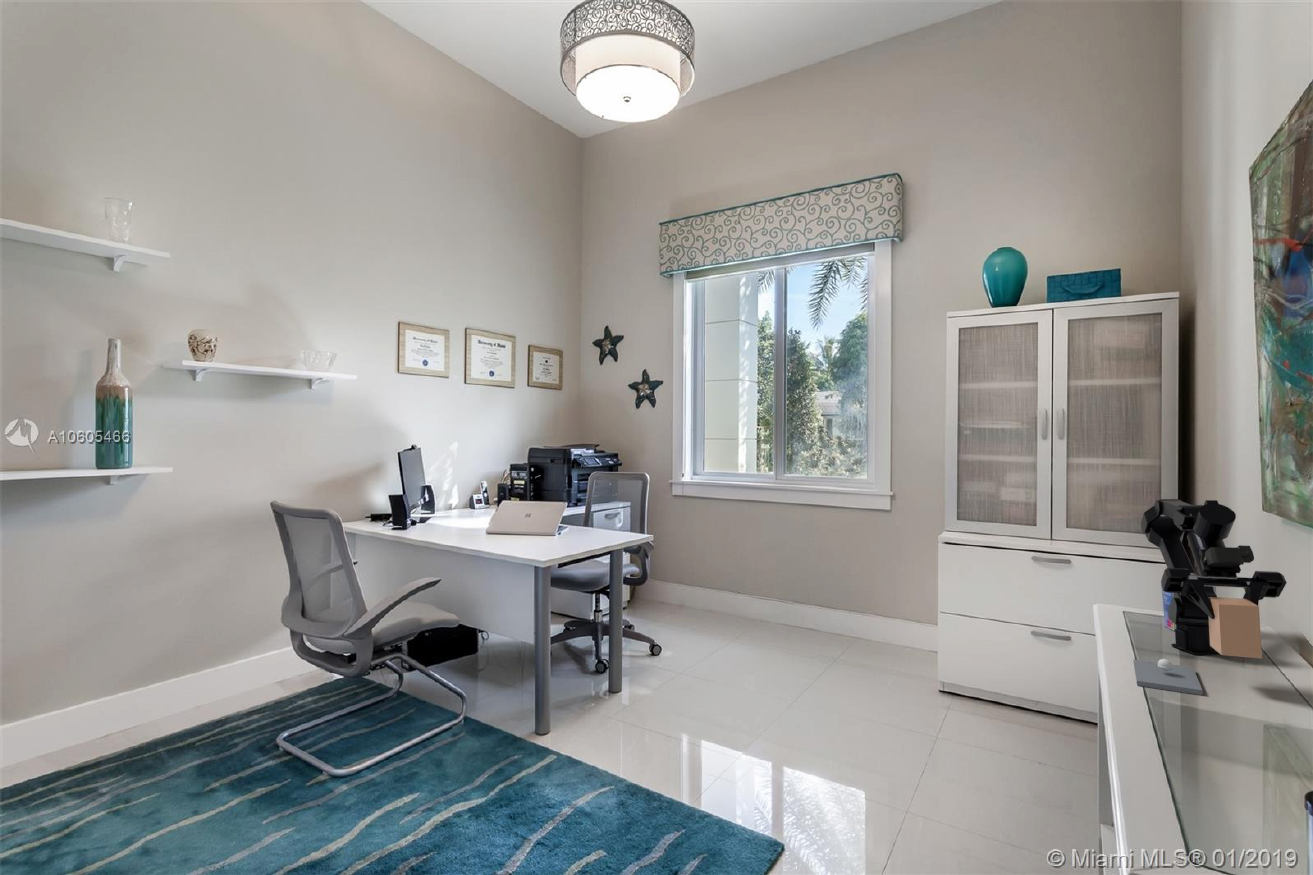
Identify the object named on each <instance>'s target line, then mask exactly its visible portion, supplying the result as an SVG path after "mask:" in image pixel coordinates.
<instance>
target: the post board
mask: <svg viewBox="0 0 1313 875" xmlns="http://www.w3.org/2000/svg"><path fill="white" fill-rule="evenodd" d="M1133 667H1134V668H1133V669H1134V674H1135V681H1136V686H1137V685H1139V686H1138V687H1144V688H1151V689H1158V690H1165V691H1171V692H1177V693H1185V694H1191V695H1197V696H1203V688H1202V686H1201V684H1200V681H1199V679H1198V677H1197V674H1196V671H1195V668H1194V667H1193V666H1188V665H1179V664H1173V663H1172V662H1171V660H1168V658H1167V659H1166V658H1160V659H1159V660H1158V661H1151V660H1142V659H1136V658H1135V659H1134V658H1133Z"/></svg>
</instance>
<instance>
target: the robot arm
mask: <svg viewBox="0 0 1313 875" xmlns="http://www.w3.org/2000/svg"><path fill="white" fill-rule="evenodd" d="M1236 518H1237V515H1236V512H1235V511H1234V510H1233V509H1232V508H1230V507H1228V506H1226V505H1224V504H1219V501H1218V499H1217V500H1215V499H1214V500H1213V499H1208V500H1207V499H1206V500H1204V503H1203V504H1190V503H1187V502H1185V501H1183V500H1182V499H1178V498H1159V499H1155V502H1154V503H1153V506H1152V507H1150V508H1149V509H1147V510H1145V511H1143V514H1142V518H1141V522H1140V526H1141V527H1140V530H1141V531H1142V533H1143V534H1144V535H1145V537H1146V539H1147V541H1148V542H1149V543H1151V544H1153V545H1154V546H1156V547H1157V548H1159V551H1160V552H1161V556H1162V558H1163V560H1164V563H1165V565H1166V568H1165V569H1164V570H1163V574H1162V575H1161V576H1162V577H1161V580H1160V585H1162V586H1161V589H1162V588H1163V591H1165V592H1170V593H1174V595H1173V598H1172V600H1171V603H1170V605H1169V608H1168V616H1169V620H1171V621H1172V622H1173V623H1174V624H1176V629H1175V631H1174V633H1175V634H1174V635H1175V636H1174V637H1175V643H1170V644H1171V647H1174V648H1175V649H1178V650H1182V651H1184V652H1187V653H1189V654H1192V655H1196V656H1197V655H1198V656H1199V655H1214V654H1220V653H1219V652H1217V651H1216V650H1215V649H1214V648H1213V647H1211V646H1210V635H1209V617H1210V618H1211V619H1214V618H1215V614H1214V611H1213V608H1212V605H1211V603H1210V601H1209V599H1208V597H1218V596H1217V593H1216V594H1215V592H1214V590H1213V587H1212V586H1215V587H1216V588H1217V587H1220V588H1237V589H1238V588H1242V589H1243V590H1244V595H1243V597H1242V599H1247V600H1249V601H1250V602H1252V603H1254V604H1256V605H1257V606H1259V603H1260V602H1259V601H1262V600H1263V599H1264V598H1271V599H1272V598H1273V599H1276V598H1278V597H1280V596H1281V594H1282V592H1283V591H1284V589H1285V587H1286V585H1287V581H1286V580H1287V579H1285V576H1284V575H1283V574H1282V573H1280V572H1279V571H1272V570H1271V571H1267V570H1265V571H1264V570H1255V571H1254V573H1253V575H1252V577H1240V576H1239V577H1238V575H1237V574H1240V573H1241V571H1242V569H1241V567H1240V566H1241V565H1245V564H1246V563H1247V564H1250V563H1252V562H1253V561H1254V560H1255V556H1254V552H1253V550H1252V548H1251V545H1241V544H1240V545H1238V546H1236V547H1226V544H1225V542H1224V540H1225V539H1227V538H1228V537H1229V535H1230V533H1231V531H1232V528H1233V526H1234V523H1235V521H1236ZM1186 531H1189V533H1188V534H1187V535H1186V538H1187V541H1188V548H1190V550H1191V553H1192V557H1193V559H1194V564H1193V565H1194V567H1195V568H1194V567H1193V565H1192V563H1191V562H1192V561H1191V560H1190V558H1189V556H1188V553H1187V552H1186V549H1185V547H1184V545H1183V539H1184V534H1185V533H1186ZM1195 569H1197V570H1198V573H1196V571H1195ZM1208 616H1209V617H1208Z"/></svg>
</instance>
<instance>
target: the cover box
mask: <svg viewBox="0 0 1313 875" xmlns="http://www.w3.org/2000/svg"><path fill="white" fill-rule="evenodd" d="M1208 599H1209V601H1210V603H1211V605H1212V608H1213V611H1214V614H1215V618H1214V619H1211V618H1210V617H1209V616H1208V617H1209V635H1210V646H1211V647H1213V648H1214V649H1215V650H1216V651H1217V652H1219V653H1218V654H1220V655H1221V656H1230V657H1241V658H1251V659H1252V658H1253V659H1263V655H1262V654H1263V653H1262V635H1261V633H1262V631H1261V619H1260V618H1261V617H1260V606H1259V605H1258V606H1257V605H1256V604H1254V603H1252V602H1250V601H1249V600H1247V599H1243V598H1238V597H1218V596H1217V597H1208Z"/></svg>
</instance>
